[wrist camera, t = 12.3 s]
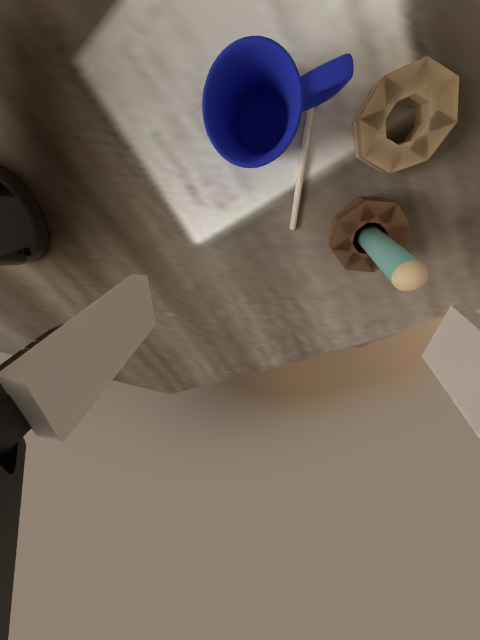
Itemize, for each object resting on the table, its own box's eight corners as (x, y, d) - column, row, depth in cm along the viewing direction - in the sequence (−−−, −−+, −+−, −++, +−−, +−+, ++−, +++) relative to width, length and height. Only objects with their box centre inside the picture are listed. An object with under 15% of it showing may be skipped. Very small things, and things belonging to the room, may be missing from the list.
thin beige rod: (295, 229, 34) (295, 230, 33) (289, 229, 34) (289, 230, 33) (318, 81, 26) (319, 78, 25) (310, 80, 26) (311, 78, 25)
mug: (341, 138, 28) (362, 127, 20) (240, 176, 32) (222, 181, 23) (330, 39, 24) (350, -27, 16) (217, 96, 28) (185, 68, 20)
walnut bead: (324, 258, 35) (327, 267, 32) (338, 195, 31) (343, 199, 28) (384, 264, 34) (393, 274, 31) (408, 200, 30) (420, 204, 27)
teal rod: (351, 241, 33) (391, 294, 20) (357, 221, 32) (404, 264, 18) (371, 243, 33) (425, 298, 19) (377, 223, 32) (441, 267, 18)
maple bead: (358, 180, 30) (365, 182, 27) (349, 97, 26) (356, 89, 23) (438, 151, 27) (456, 150, 24) (440, 55, 23) (460, 40, 21)
